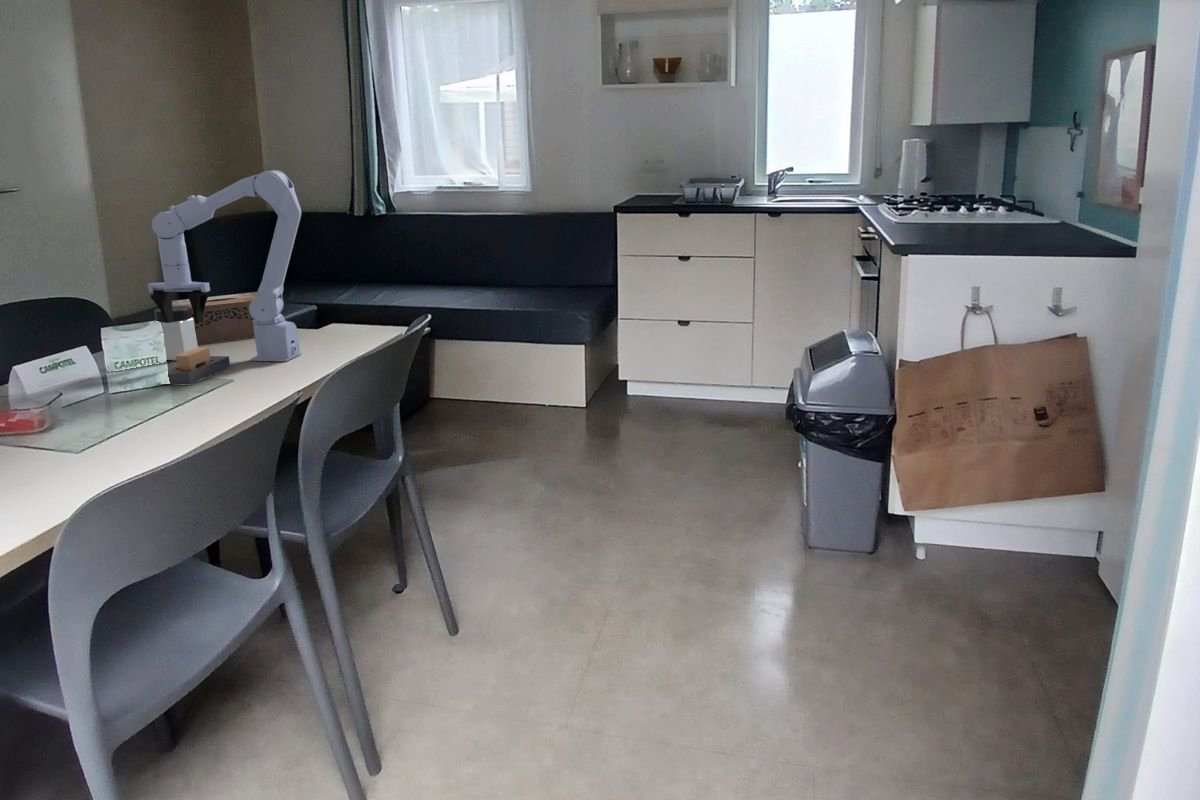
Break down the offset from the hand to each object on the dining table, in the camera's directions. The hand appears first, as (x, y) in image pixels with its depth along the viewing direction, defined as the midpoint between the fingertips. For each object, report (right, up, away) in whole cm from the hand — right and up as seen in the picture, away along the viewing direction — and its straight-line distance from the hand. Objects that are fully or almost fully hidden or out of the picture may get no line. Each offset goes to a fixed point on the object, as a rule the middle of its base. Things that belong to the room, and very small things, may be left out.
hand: (184, 322), depth 215 cm
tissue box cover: (-5, -1, +33) cm, 33 cm away
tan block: (+7, -13, -9) cm, 17 cm away
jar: (-5, -8, +10) cm, 14 cm away
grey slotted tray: (+7, -13, -9) cm, 17 cm away
